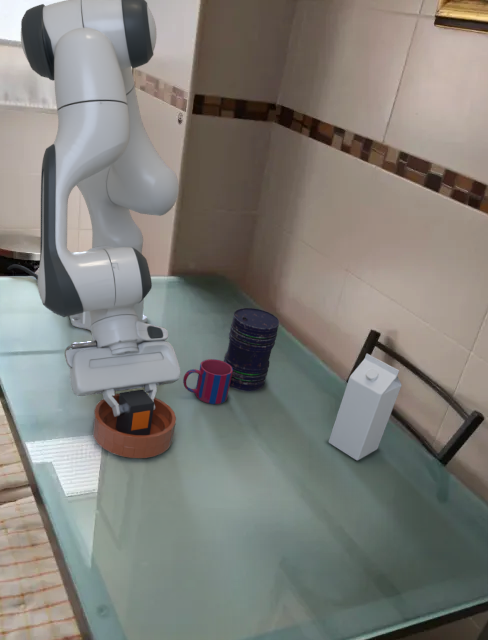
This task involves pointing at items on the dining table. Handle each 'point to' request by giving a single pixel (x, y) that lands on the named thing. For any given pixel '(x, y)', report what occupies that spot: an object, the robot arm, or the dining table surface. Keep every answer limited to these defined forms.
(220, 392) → the mug
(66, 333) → the dining table surface
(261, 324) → the dark blue cylinder
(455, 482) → the dining table surface
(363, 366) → the milk carton
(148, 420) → the box
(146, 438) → the bowl
